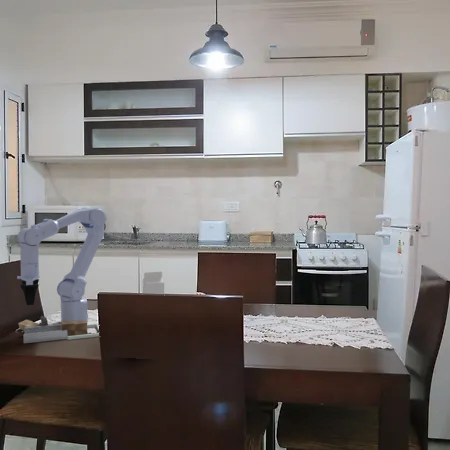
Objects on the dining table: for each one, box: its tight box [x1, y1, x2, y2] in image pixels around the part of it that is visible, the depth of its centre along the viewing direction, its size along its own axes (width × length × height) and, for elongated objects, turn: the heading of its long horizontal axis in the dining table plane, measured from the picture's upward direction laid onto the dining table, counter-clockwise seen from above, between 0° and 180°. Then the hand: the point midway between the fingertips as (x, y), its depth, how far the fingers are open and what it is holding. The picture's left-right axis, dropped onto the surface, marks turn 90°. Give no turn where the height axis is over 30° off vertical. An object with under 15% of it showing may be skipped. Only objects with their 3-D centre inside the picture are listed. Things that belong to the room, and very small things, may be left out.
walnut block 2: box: [74, 320, 88, 336], centre depth 154 cm, size 4×4×4 cm
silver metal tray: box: [22, 323, 68, 344], centre depth 150 cm, size 13×10×3 cm
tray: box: [67, 323, 100, 341], centre depth 154 cm, size 11×13×2 cm
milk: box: [142, 271, 165, 295], centre depth 150 cm, size 6×6×22 cm
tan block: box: [17, 315, 49, 331], centre depth 159 cm, size 6×5×9 cm
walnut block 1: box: [60, 320, 75, 337], centre depth 152 cm, size 4×4×4 cm
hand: (30, 302), depth 157 cm, fingers open, 7 cm apart
